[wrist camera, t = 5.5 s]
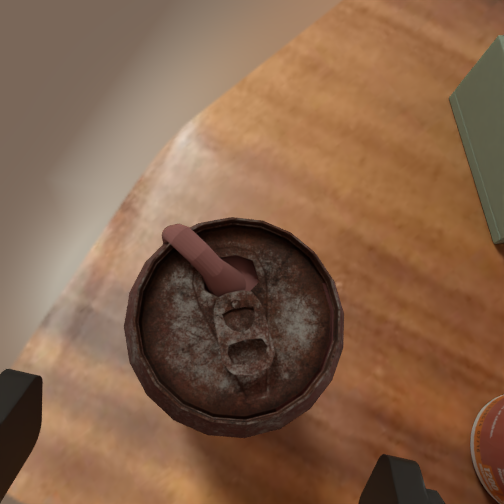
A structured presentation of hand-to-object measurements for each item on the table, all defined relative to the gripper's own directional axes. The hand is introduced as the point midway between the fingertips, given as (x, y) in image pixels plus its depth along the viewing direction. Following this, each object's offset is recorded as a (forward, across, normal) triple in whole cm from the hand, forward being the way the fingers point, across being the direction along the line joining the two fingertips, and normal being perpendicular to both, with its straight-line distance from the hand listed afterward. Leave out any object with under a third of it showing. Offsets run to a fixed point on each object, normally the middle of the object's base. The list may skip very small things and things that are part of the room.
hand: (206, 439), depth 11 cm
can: (+12, 0, +8) cm, 15 cm away
